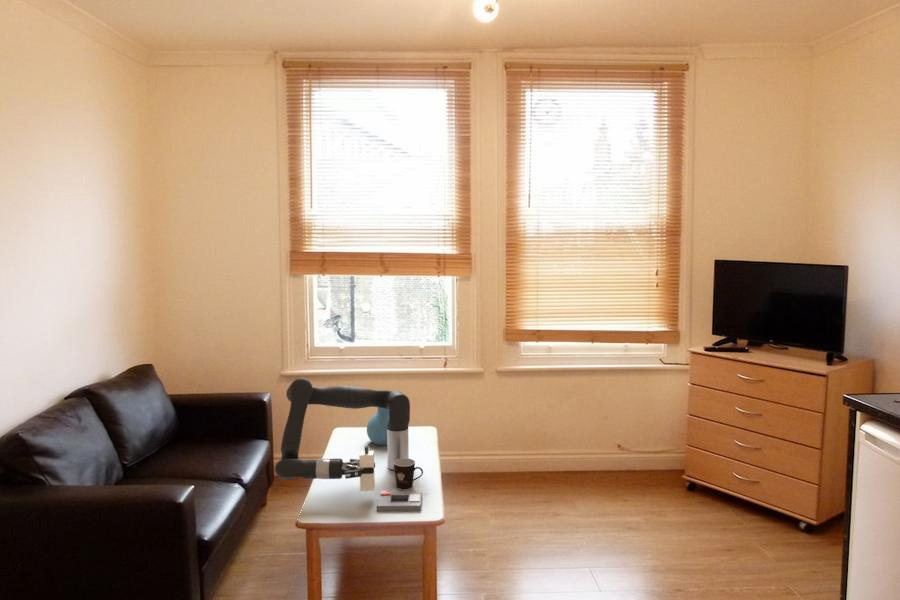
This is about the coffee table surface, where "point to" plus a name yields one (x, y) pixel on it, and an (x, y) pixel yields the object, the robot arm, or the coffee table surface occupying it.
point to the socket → (399, 501)
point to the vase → (378, 427)
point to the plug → (367, 462)
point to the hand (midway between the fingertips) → (374, 467)
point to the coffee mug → (405, 473)
